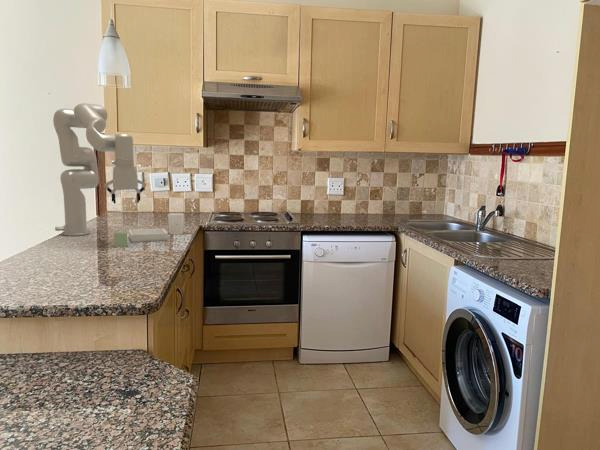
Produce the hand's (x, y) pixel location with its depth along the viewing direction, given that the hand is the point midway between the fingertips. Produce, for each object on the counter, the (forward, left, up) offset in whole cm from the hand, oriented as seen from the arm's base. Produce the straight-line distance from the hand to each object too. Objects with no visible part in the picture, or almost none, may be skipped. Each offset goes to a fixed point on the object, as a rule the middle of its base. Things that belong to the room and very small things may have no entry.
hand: (126, 202), depth 212 cm
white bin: (+10, +11, -18) cm, 24 cm away
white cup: (+25, +22, -19) cm, 38 cm away
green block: (-3, -4, -18) cm, 19 cm away
